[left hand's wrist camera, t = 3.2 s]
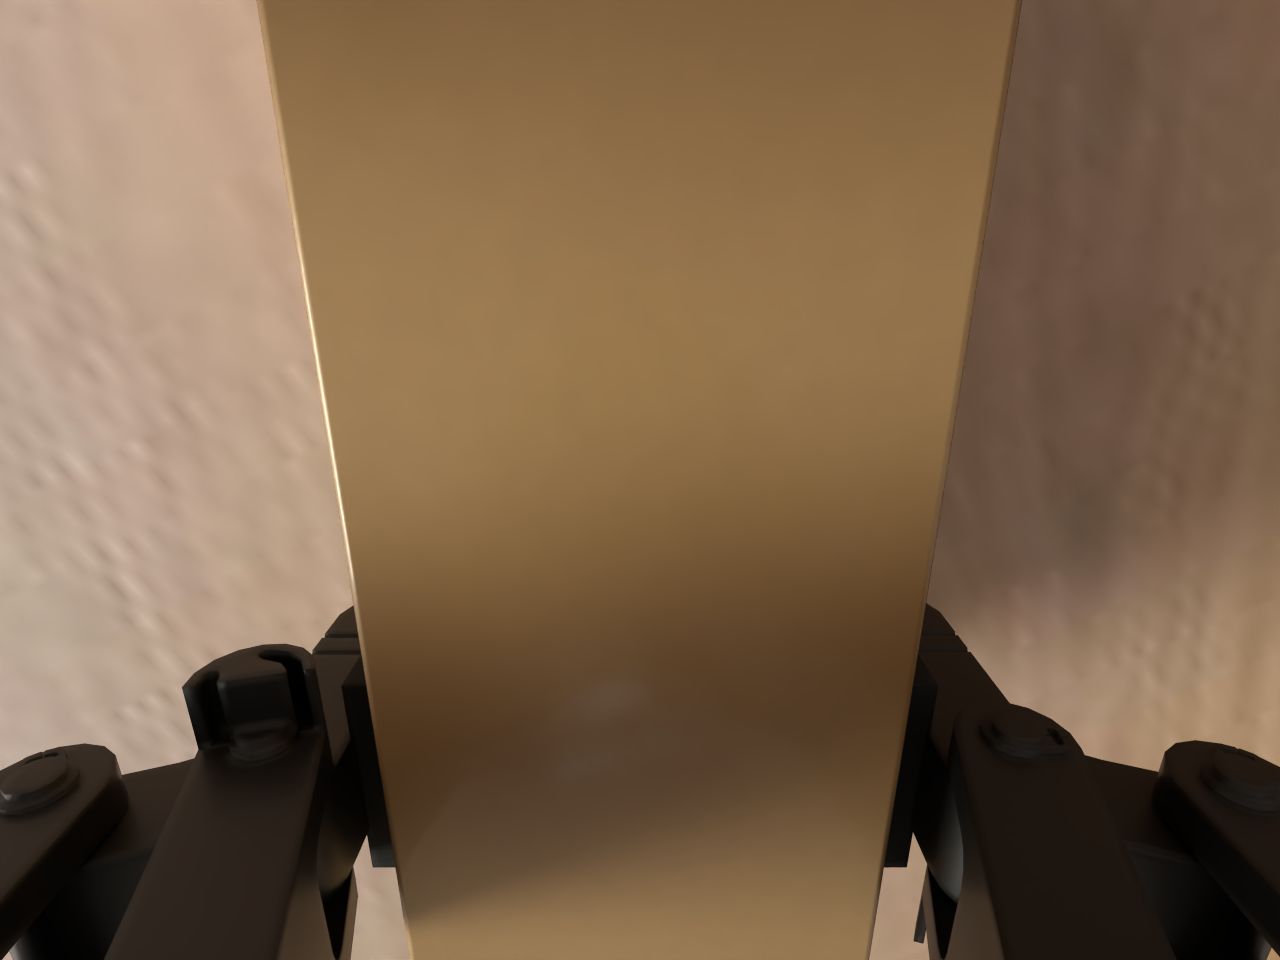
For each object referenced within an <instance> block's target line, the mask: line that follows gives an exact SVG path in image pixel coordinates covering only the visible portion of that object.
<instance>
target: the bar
mask: <svg viewBox="0 0 1280 960" xmlns="http://www.w3.org/2000/svg"><path fill="white" fill-rule="evenodd" d="M257 5H258V11H259V17H260V24H261V30H262V36H263V42H264V49H265V55H266V61H267V67H268V74H269V80H270V86H271V92H272V99H273V105H274V111H275V117H276V124H277V130H278V136H279V142H280V149H281V155H282V161H283V167H284V174H285V180H286V186H287V192H288V199H289V205H290V211H291V217H292V224H293V230H294V236H295V242H296V249H297V255H298V261H299V267H300V274H301V280H302V286H303V292H304V299H305V305H306V311H307V317H308V323H309V330H310V336H311V342H312V348H313V355H314V361H315V367H316V373H317V380H318V386H319V392H320V398H321V405H322V411H323V417H324V423H325V430H326V436H327V442H328V448H329V455H330V461H331V467H332V473H333V480H334V486H335V492H336V498H337V505H338V511H339V517H340V523H341V530H342V536H343V542H344V548H345V555H346V561H347V567H348V573H349V580H350V586H351V592H352V598H353V604H354V611H355V617H356V623H357V629H358V636H359V642H360V648H361V654H362V661H363V667H364V673H365V679H366V686H367V692H368V698H369V704H370V711H371V717H372V723H373V729H374V736H375V742H376V748H377V754H378V761H379V767H380V773H381V779H382V786H383V792H384V798H385V804H386V811H387V817H388V823H389V829H390V836H391V842H392V848H393V854H394V861H395V867H396V873H397V879H398V886H399V892H400V898H401V904H402V910H403V917H404V923H405V929H406V935H407V942H408V948H409V954H410V960H869V956H870V950H871V944H872V938H873V931H874V925H875V919H876V913H877V906H878V900H879V894H880V888H881V881H882V875H883V869H884V863H885V856H886V850H887V844H888V837H889V831H890V825H891V819H892V812H893V806H894V800H895V794H896V787H897V781H898V775H899V769H900V762H901V756H902V750H903V744H904V737H905V731H906V725H907V718H908V712H909V706H910V700H911V693H912V687H913V681H914V675H915V668H916V662H917V656H918V650H919V643H920V637H921V631H922V625H923V618H924V612H925V606H926V599H927V593H928V587H929V581H930V574H931V568H932V562H933V556H934V549H935V543H936V537H937V531H938V524H939V518H940V512H941V506H942V499H943V493H944V487H945V481H946V474H947V468H948V462H949V455H950V449H951V443H952V437H953V430H954V424H955V418H956V412H957V405H958V399H959V393H960V387H961V380H962V374H963V368H964V362H965V355H966V349H967V343H968V336H969V330H970V324H971V318H972V311H973V305H974V299H975V293H976V286H977V280H978V274H979V268H980V261H981V255H982V249H983V243H984V236H985V230H986V224H987V217H988V211H989V205H990V199H991V192H992V186H993V180H994V174H995V167H996V161H997V155H998V149H999V142H1000V136H1001V130H1002V124H1003V117H1004V111H1005V105H1006V98H1007V92H1008V86H1009V80H1010V73H1011V67H1012V61H1013V55H1014V48H1015V42H1016V36H1017V30H1018V23H1019V17H1020V11H1021V5H1022V0H257Z"/></svg>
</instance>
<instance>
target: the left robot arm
mask: <svg viewBox="0 0 1280 960" xmlns="http://www.w3.org/2000/svg"><path fill="white" fill-rule="evenodd" d="M182 689H183V693H184V697H185V700H186V704H187V708H188V712H189V715H190V719H191V723H192V727H193V730H194V734H195V738H196V741H197V745H198V749H199V750H198V752H197V754H196V757H195V758H194V759H191V760H187V761H184V762H180V763H176V764H171V765H166V766H162V767H157V768H152V769H148V770H143V771H139V772H134V773H129V774H125V775H122V774H121V771H120V768H119V765H118V762H117V759H116V756H115V754H113V753H112V752H111V751H110V750H108V749H107V748H106V747H105V746H99V745H91V744H78V745H71V746H63V747H57V748H54V749H50V750H46V751H45V752H39V753H37V754H34V755H31V756H28V757H26V758H24V759H23V760H21V761H19V762H17V763H15V764H13V765H11V766H9V767H7V768H5V769H3V770H1V771H0V960H2V959H3V958H4V957H5V955H6V954H7V953H8V952H10V954H11V956H12V959H13V960H350V959H351V951H352V942H353V934H354V925H355V916H356V908H357V899H358V893H357V886H356V879H355V874H354V868H353V865H354V862H355V860H356V858H357V856H358V853H359V851H360V849H361V847H362V844H363V842H364V840H365V838H366V835H367V837H368V843H369V848H370V854H371V860H372V865H373V867H395V861H394V854H393V848H392V842H391V836H390V829H389V823H388V817H387V811H386V804H385V798H384V792H383V786H382V779H381V773H380V767H379V761H378V754H377V748H376V742H375V736H374V729H373V723H372V717H371V711H370V704H369V698H368V692H367V686H366V679H365V673H364V667H363V661H362V654H361V648H360V642H359V636H358V629H357V623H356V617H355V611H354V606H352V607H351V608H349V609H348V610H346V611H345V612H343V613H341V614H340V615H339V616H338V618H337V619H336V620H335V622H334V623H333V624H332V626H331V627H330V628H329V630H328V631H327V632H326V634H325V638H322V639H321V640H320V641H319V643H318V644H317V645H316V647H315V648H314V649H313V654H310V653H309V652H308V651H307V650H305V649H304V648H302V647H298V646H293V645H289V644H269V645H260V646H255V647H251V648H246V649H242V650H238V651H235V652H233V653H231V654H228V655H226V656H223V657H221V658H218V659H216V660H214V661H212V662H211V663H209V664H208V665H206V666H205V667H203V668H201V669H200V670H198V671H197V672H195V673H194V674H193V675H192V676H191V678H190V679H189V680H188V681H187V682H186V683H185V685H184V686H183V687H182ZM913 833H914V835H915V837H916V840H917V842H918V844H919V846H920V849H921V851H922V853H923V855H924V858H925V860H926V862H927V868H926V874H925V879H924V884H923V890H922V895H921V900H920V906H919V911H918V916H917V921H916V928H915V935H914V941H915V942H919V943H924V938H925V932H927V940H928V949H929V957H930V960H1266V959H1267V957H1268V955H1269V952H1270V950H1271V948H1273V949H1274V951H1275V952H1276V953H1277V954H1278V955H1279V957H1280V767H1279V766H1277V765H1275V764H1272V763H1270V762H1268V761H1266V760H1264V759H1262V758H1260V757H1258V756H1257V755H1255V754H1253V753H1250V752H1248V751H1245V750H1242V749H1237V748H1235V747H1232V746H1228V745H1224V744H1219V743H1212V742H1204V741H1197V740H1194V741H1187V742H1180V743H1175V744H1174V745H1173V746H1172V747H1170V748H1169V749H1168V750H1167V751H1165V754H1164V757H1163V760H1162V763H1161V766H1160V769H1159V772H1156V771H1151V770H1147V769H1142V768H1137V767H1133V766H1128V765H1123V764H1119V763H1114V762H1109V761H1105V760H1100V759H1097V758H1093V757H1090V756H1086V755H1084V753H1083V751H1082V749H1081V747H1080V746H1079V745H1078V743H1077V742H1076V741H1075V739H1074V738H1073V737H1072V735H1071V734H1070V733H1069V732H1068V731H1067V730H1065V729H1064V728H1063V727H1061V726H1060V725H1059V724H1057V723H1056V722H1055V721H1053V720H1052V719H1050V718H1048V717H1046V716H1044V715H1042V714H1040V713H1038V712H1035V711H1033V710H1031V709H1029V708H1026V707H1022V706H1018V705H1014V704H1010V703H1009V702H1008V700H1007V699H1006V698H1005V697H1004V695H1003V694H1002V693H1001V691H1000V690H999V689H998V687H997V686H996V685H995V683H994V682H993V681H992V680H991V678H990V677H989V676H988V674H987V673H986V672H985V670H984V669H983V668H982V666H981V665H980V664H979V663H978V661H977V660H976V659H975V657H974V656H973V655H972V653H971V652H968V651H967V647H966V646H965V644H964V643H963V642H962V640H961V639H960V638H959V636H955V631H954V630H953V629H952V627H951V626H950V625H949V623H948V622H947V621H946V619H945V618H944V617H943V615H942V614H941V613H940V612H939V611H937V610H936V609H934V608H933V607H931V606H930V605H928V604H927V603H926V606H925V612H924V618H923V625H922V631H921V637H920V643H919V650H918V656H917V662H916V668H915V675H914V681H913V687H912V693H911V700H910V706H909V712H908V718H907V725H906V731H905V737H904V744H903V750H902V756H901V762H900V769H899V775H898V781H897V787H896V794H895V800H894V806H893V812H892V819H891V825H890V831H889V837H888V844H887V850H886V856H885V863H884V867H907V863H908V857H909V851H910V845H911V840H912V834H913Z"/></svg>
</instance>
